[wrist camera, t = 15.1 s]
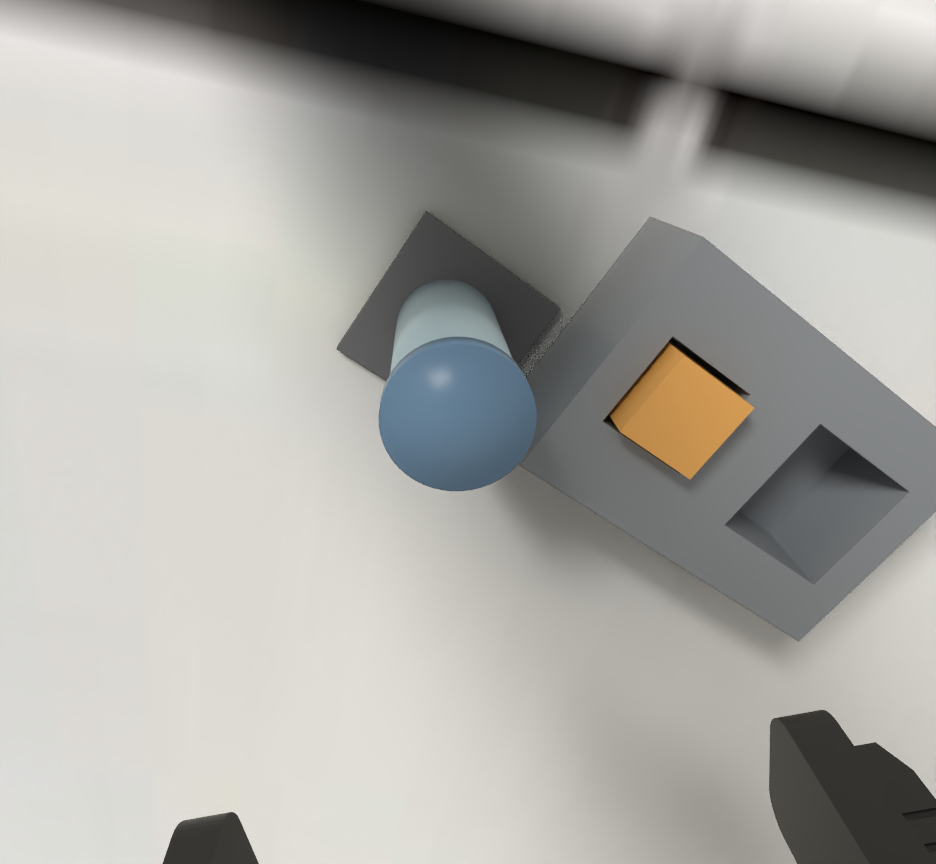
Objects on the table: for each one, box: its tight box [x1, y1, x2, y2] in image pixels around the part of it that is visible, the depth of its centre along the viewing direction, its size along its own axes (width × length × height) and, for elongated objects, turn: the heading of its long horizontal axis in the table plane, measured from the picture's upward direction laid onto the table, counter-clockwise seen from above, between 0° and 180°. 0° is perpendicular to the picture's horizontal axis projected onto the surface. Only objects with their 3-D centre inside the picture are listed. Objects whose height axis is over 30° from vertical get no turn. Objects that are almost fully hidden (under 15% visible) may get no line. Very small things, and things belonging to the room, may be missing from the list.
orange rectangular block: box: [609, 340, 754, 479], centre depth 32 cm, size 4×4×5 cm
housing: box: [519, 217, 936, 641], centre depth 35 cm, size 18×12×7 cm, turn 55°
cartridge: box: [379, 279, 537, 491], centre depth 30 cm, size 5×5×12 cm
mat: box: [337, 211, 560, 381], centre depth 35 cm, size 8×8×1 cm
